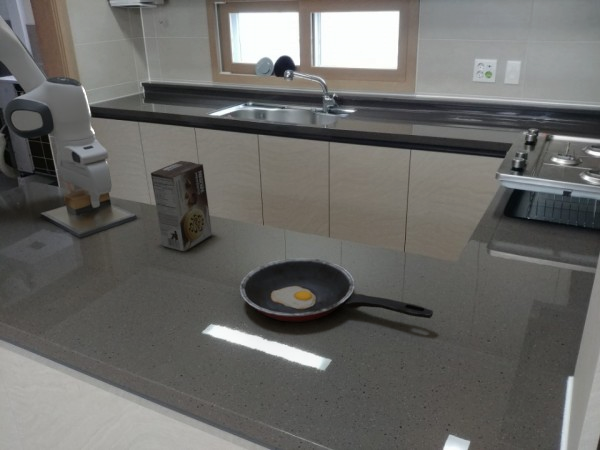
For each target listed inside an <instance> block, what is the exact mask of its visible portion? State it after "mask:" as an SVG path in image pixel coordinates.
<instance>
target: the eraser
mask: <svg viewBox="0 0 600 450" xmlns="http://www.w3.org/2000/svg"><path fill="white" fill-rule="evenodd" d="M63 199H64V204H65V206H66V208H67V211H69V212H71V213H72V214H74V215H80V214H83V213H86V212H89V211H92V210H96V209H99V208H102V207H105V206H109V205H111V204H112V203H111V202H112V201H111V196H110V192H108V193H105V194H101V195H100V197H99V203H100V206H99V207H96V208H93V207H91V206H90V202H89V200H90V195H89V191H87V190H81V191H77V192H75V191H74V192H71V193H68V194H63Z"/></svg>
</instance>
